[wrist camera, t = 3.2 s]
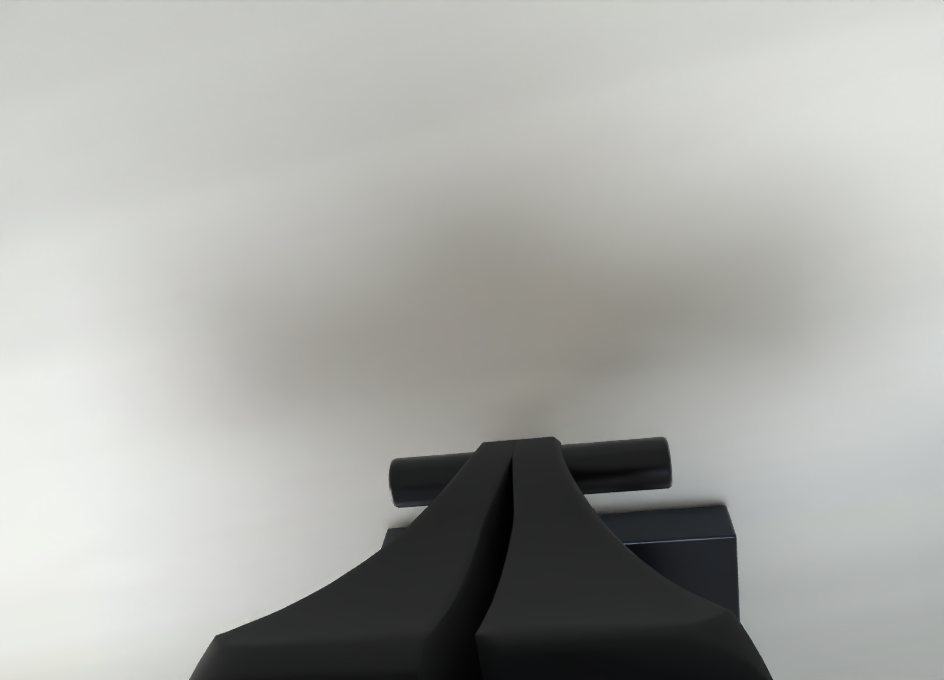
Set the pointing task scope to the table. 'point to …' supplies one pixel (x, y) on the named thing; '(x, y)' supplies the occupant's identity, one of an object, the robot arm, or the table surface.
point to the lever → (587, 462)
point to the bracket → (679, 548)
